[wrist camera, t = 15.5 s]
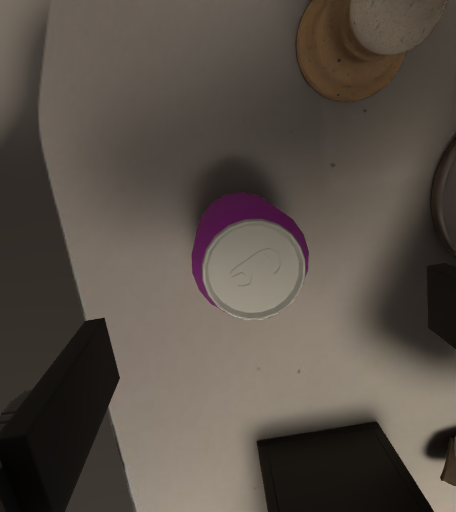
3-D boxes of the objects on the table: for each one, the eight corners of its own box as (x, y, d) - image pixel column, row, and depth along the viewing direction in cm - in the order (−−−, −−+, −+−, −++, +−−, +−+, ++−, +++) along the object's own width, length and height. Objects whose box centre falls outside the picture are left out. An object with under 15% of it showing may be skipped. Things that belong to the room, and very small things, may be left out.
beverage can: (222, 288, 35) (228, 352, 24) (181, 217, 33) (165, 247, 22) (296, 250, 35) (339, 295, 23) (258, 174, 33) (283, 183, 21)
